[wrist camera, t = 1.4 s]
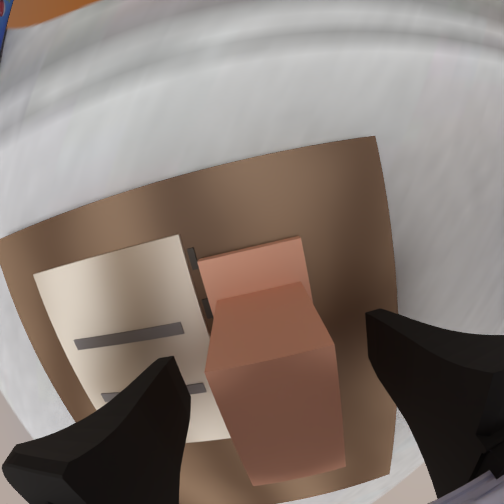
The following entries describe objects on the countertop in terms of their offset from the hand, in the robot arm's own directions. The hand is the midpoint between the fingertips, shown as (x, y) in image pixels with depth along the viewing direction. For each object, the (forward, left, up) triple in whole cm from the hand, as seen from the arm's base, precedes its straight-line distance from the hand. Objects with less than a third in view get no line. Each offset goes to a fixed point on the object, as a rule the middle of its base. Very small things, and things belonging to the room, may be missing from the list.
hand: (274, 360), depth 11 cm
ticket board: (+3, +3, -3) cm, 5 cm away
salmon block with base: (0, 0, -1) cm, 1 cm away
